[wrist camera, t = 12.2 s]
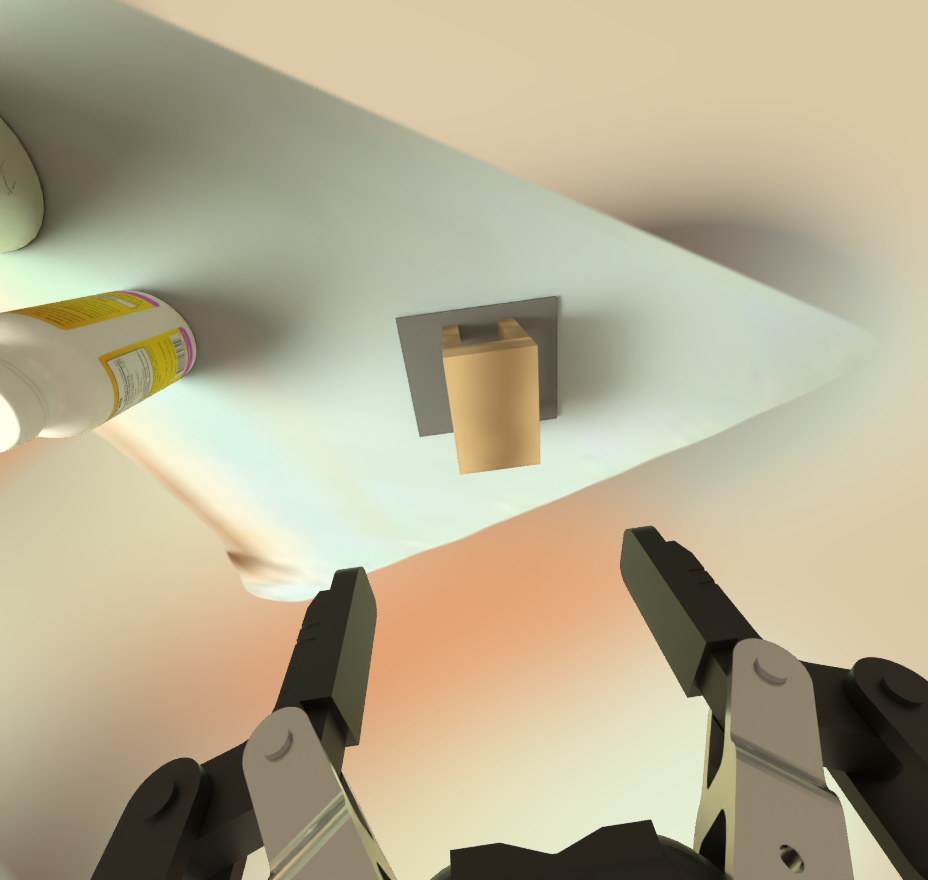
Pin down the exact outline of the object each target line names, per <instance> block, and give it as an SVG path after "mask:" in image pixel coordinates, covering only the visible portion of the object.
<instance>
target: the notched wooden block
mask: <svg viewBox="0 0 928 880" xmlns="http://www.w3.org/2000/svg"><path fill="white" fill-rule="evenodd" d="M497 326H498V336H499V338H500V340H501V341H496V342H488V343H481V344H474V345H466V346H462V345H461V340H460V335H459V330H458V325H455V326H448V327H442V353H443V364H444V370H445V377H446V384H447V390H448V397H449V404H450V410H451V417H452V423H453V430H454V437H455V443H456V450H457V457H458V463H459V470H460V475H461V474H469V473H476V472H484V471H491V470H499V469H506V468H514V467H521V466H529V465H536V464H540V426H539V382H538V345H537V344H536V343H535V342H534V341H533V340H532V339H531V337H530V336H529V335H528V334H527V333H526V332H525V331H524V330H523V328H522V327H521V326H520V325H519V324H518V323H517V322H516V321H515V319H514V318H507V319H499V320H497Z"/></svg>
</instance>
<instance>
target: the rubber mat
mask: <svg viewBox="0 0 928 880" xmlns="http://www.w3.org/2000/svg"><path fill="white" fill-rule="evenodd" d="M507 318H514V319H515V321H516V322H517V323H518V324H519V325H520V326H521V327H522V328H523V330H524V331H525V332H526V333H527V334H528V335H529V336H530V337H531V339H532V340H533V341H534V342H535V343H536V344H537V345H538V382H539V421H541V420H548V419H556V418H557V297H556V296H553V297H546V298H539V299H532V300H524V301H517V302H510V303H502V304H495V305H488V306H481V307H473V308H466V309H459V310H451V311H444V312H437V313H430V314H422V315H415V316H408V317H400V318H396V323H397V328H398V333H399V338H400V343H401V347H402V352H403V357H404V362H405V367H406V372H407V377H408V382H409V387H410V392H411V396H412V401H413V406H414V411H415V416H416V421H417V426H418V431H419V436H420V437H422V436H430V435H437V434H445V433H452V432H454V430H453V423H452V417H451V410H450V404H449V397H448V390H447V384H446V377H445V370H444V364H443V353H442V327H448V326H455V325H458V330H459V335H460V340H461V345H462V346H466V345H474V344H481V343H488V342H496V341H501V340H500V338H499V336H498V326H497V320H499V319H507Z"/></svg>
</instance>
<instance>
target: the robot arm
mask: <svg viewBox="0 0 928 880" xmlns="http://www.w3.org/2000/svg"><path fill="white" fill-rule="evenodd" d="M43 214H44V203H43V193H42V189H41V186H40V182H39V179H38V175H37V173H36V171H35V169H34V166H33V164H32V162H31V160H30V158H29V156H28V154H27V152H26V151H25V149H24V148H23V146H22V145H21V143H20V142H19V140H18V139H17V137H16V135H15V134H14V133H13V132H12V131H11V129H10V128H9V127H8V126H7V125H6V123H5V122H4V121H3V120H2V119H1V118H0V253H2V252H10V251H15V250H17V249H19V248H22V247H24V246H26V245H27V244H28V243H29V242H30V241H32V240H33V239H34V238H35V237H36V235H37V233H38V231H39V229H40V227H41V225H42V220H43ZM620 569H621V574H622V577H623V581H624V583H625V585H626V587H627V589H628V591H629V592H630V594H631V596H632V598H633V600H634V602H635V603H636V605H637V607H638V609H639V611H640V612H641V614H642V616H643V618H644V620H645V621H646V623H647V625H648V627H649V629H650V631H651V632H652V634H653V636H654V638H655V639H656V641H657V643H658V645H659V647H660V649H661V650H662V652H663V654H664V656H665V658H666V660H667V661H668V663H669V665H670V667H671V669H672V671H673V672H674V674H675V676H676V678H677V680H678V681H679V683H680V685H681V687H682V689H683V691H684V692H685V694H686V696H687V698H689V697H695V696H702V695H703V697H704V698H705V700H706V702H707V703H708V705H709V707H710V709H709V713H708V724H707V737H706V750H705V763H704V774H703V786H702V787H703V788H702V795H701V801H700V805H699V809H698V815H697V820H696V826H695V834H694V845H693V849H691V848H689V847H687V846H685V845H683V844H681V843H680V842H678V841H675V840H673V839H670V838H667V837H665V836H661V835H657V834H656V831H655V828H654V826H653V823H652V821H651V820H645V821H639V822H632V823H625V824H620V825H612V826H606V827H601V828H600V829H598V830H596V831H595V832H593V833H591V834H590V835H588V836H586V837H584V838H583V839H581V840H579V841H578V842H576V843H574V844H573V845H571V846H570V847H568V848H566V849H564V850H563V851H561V852H559V853H557V854H548V853H543V852H539V851H535V850H530V849H525V848H521V847H517V846H512V845H508V844H503V843H495V844H488V845H481V846H476V847H468V848H462V849H456V850H450V859H451V860H450V862H451V865H450V866H448V867H446V868H444V869H443V870H441V871H440V872H439V873H438V874H436V875H435V876H434V877H433V878H432V879H431V880H854V876H853V870H852V863H851V856H850V850H849V843H848V836H847V829H846V823H845V817H844V812H843V808H842V805H841V802H840V800H839V798H838V796H837V795H836V794H835V793H834V792H833V791H831V790H829V789H828V787H827V785H826V782H825V777H824V770H823V767H826V768H827V769H828V771H829V772H830V774H831V775H832V777H833V778H834V779H835V781H836V782H837V784H838V785H839V787H840V788H841V790H842V791H843V793H844V794H845V796H846V797H847V799H848V800H849V801H850V803H851V804H852V806H853V807H854V809H855V810H856V811H857V813H858V814H859V816H860V817H861V819H862V820H863V822H864V823H865V825H866V826H867V828H868V829H869V831H870V832H871V834H872V835H873V836H874V838H875V839H876V841H877V842H878V844H879V845H880V847H881V848H882V849H883V851H884V853H885V854H886V855H887V856H888V858H889V860H890V861H891V863H892V864H893V865H894V867H895V868H896V870H897V871H898V873H899V874H900V876H901V877H902V879H903V880H928V681H927V680H926V679H924V678H923V677H921V676H920V675H918V674H917V673H915V672H914V671H912V670H910V669H908V668H906V667H904V666H902V665H900V664H898V663H895V662H892V661H889V660H886V659H882V658H875V657H867V658H863V659H860V660H858V661H857V662H856V663H855V665H854V666H853V667H852V669H851V670H849V669H843V668H838V667H831V666H826V665H820V664H814V663H808V662H804V661H800V660H798V659H797V658H796V657H795V656H793V655H792V654H791V653H790V652H788V651H787V650H785V649H784V648H782V647H780V646H778V645H776V644H774V643H772V642H768V641H766V640H763V639H762V638H761V637H760V636H759V635H758V633H757V632H756V631H755V630H754V629H753V628H752V626H751V625H750V624H749V623H748V622H747V620H746V619H745V618H744V616H743V615H742V614H741V613H740V612H739V610H738V609H737V608H736V607H735V605H734V604H733V603H732V602H731V600H730V599H729V598H728V597H727V596H726V594H725V593H724V592H723V591H722V589H721V588H720V587H719V586H718V585H717V584H715V582H714V580H713V578H712V577H711V576H710V575H709V573H708V572H707V571H705V570H704V567H703V566H702V565H701V563H700V562H699V561H698V560H697V559H696V557H695V556H694V555H693V554H692V553H691V552H690V551H688V550H687V549H685V548H684V547H682V546H681V545H680V544H678V543H677V542H675V541H669V542H666V541H665V540H664V539H663V537H662V536H661V535H660V534H659V532H658V531H657V530H656V529H655V528H654V527H653V526H645V527H638V528H631V529H626V530H625V532H624V537H623V544H622V552H621V561H620ZM376 614H377V609H376V601H375V597H374V595H373V592H372V589H371V586H370V584H369V581H368V578H367V575H366V572H365V570H364V568H363V567H355V568H348V569H342V570H337V571H336V572H335V574H334V577H333V581H332V585H331V588H330V590H325V591H319V593H318V594H317V596H316V597H315V598H314V600H313V601H312V603H311V604H310V605H309V607H308V608H307V611H306V614H305V618H304V620H303V623H302V629H301V630H300V633H299V636H298V639H297V644H296V645H295V648H294V651H293V654H292V657H291V660H290V663H289V666H288V669H287V672H286V675H285V678H284V681H283V685H282V687H281V690H280V694H279V697H278V700H277V702H276V705H275V708H274V709H273V711H272V713H271V714H270V715H269V716H268V717H266V718H265V719H264V720H263V721H262V722H261V723H260V724H259V725H258V726H257V728H256V729H255V730H254V732H253V733H252V735H251V736H250V738H249V739H248V740H247V741H245V742H244V743H242V744H240V745H239V746H237V747H235V748H233V749H231V750H229V751H227V752H225V753H223V754H221V755H219V756H217V757H215V758H213V759H211V760H209V761H207V762H205V763H203V764H201V765H199V764H198V763H197V762H195V761H194V760H193V759H191V758H179V759H175V760H172V761H171V762H168V763H166V764H165V765H163V766H161V767H160V768H159V769H158V770H156V771H155V772H154V773H152V774H151V775H150V776H149V777H148V778H147V779H146V780H145V781H144V782H143V783H142V785H140V787H139V788H138V789H137V791H136V792H135V793H134V795H133V796H132V798H131V799H130V801H129V802H128V804H127V806H126V808H125V810H124V812H123V814H122V816H121V818H120V820H119V822H118V824H117V826H116V828H115V830H114V832H113V835H112V837H111V839H110V841H109V843H108V845H107V847H106V849H105V851H104V853H103V855H102V857H101V859H100V861H99V863H98V865H97V867H96V869H95V871H94V873H93V876H92V878H91V880H241V879H242V875H243V871H244V868H245V863H246V860H247V856H248V855H249V854H251V853H252V852H254V851H256V850H257V849H259V848H261V847H263V846H265V850H266V853H267V857H268V861H269V865H270V877H269V878H268V880H397V879H396V877H395V875H394V873H393V871H392V869H391V867H390V865H389V863H388V861H387V860H386V858H385V856H384V854H383V852H382V851H381V849H380V847H379V845H378V843H377V841H376V839H375V837H374V835H373V833H372V831H371V828H370V826H369V824H368V822H367V820H366V818H365V816H364V814H363V812H362V810H361V808H360V805H359V804H358V801H357V799H356V797H355V795H354V793H353V791H352V789H351V787H350V785H349V783H348V780H347V778H346V776H345V774H344V772H343V770H342V763H343V757H344V750H345V747H349V746H356V745H359V740H360V733H361V725H362V719H363V712H364V705H365V697H366V690H367V683H368V675H369V669H370V661H371V654H372V647H373V639H374V633H375V626H376V617H377V615H376Z"/></svg>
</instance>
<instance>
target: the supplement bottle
mask: <svg viewBox="0 0 928 880" xmlns="http://www.w3.org/2000/svg"><path fill="white" fill-rule="evenodd" d="M195 359H196V343H195V339H194V336H193V334H192V331H191V329H190V328H189V326H188V324H187V323H186V322H185V320H184V319H183V318H182V317H181V316H180V315H179V314H178V313H177V311H175V310H174V309H173V308H172V307H171V306H169V305H168V304H167V303H165V302H164V301H162V300H160V299H158V298H156V297H154V296H152V295H149V294H146V293H143V292H138V291H131V290H122V291H114V292H108V293H102V294H97V295H92V296H87V297H81V298H76V299H71V300H66V301H61V302H56V303H50V304H45V305H40V306H35V307H29V308H24V309H19V310H13V311H8V312H3V313H0V452H5V451H8V450H10V449H12V448H15V447H16V446H19V445H21V444H23V443H25V442H27V441H30V440H32V439H34V438H35V437H37V436H40V437H49V438H63V437H72V436H76V435H80V434H83V433H86V432H88V431H90V430H92V429H94V428H96V427H98V426H100V425H101V424H103V423H105V422H106V421H108V420H110V419H112V418H113V417H115V416H117V415H118V414H120V413H122V412H124V411H125V410H127V409H129V408H130V407H132V406H134V405H136V404H138V403H139V402H141V401H143V400H144V399H146V398H148V397H150V396H151V395H153V394H155V393H157V392H158V391H160V390H162V389H164V388H165V387H167V386H169V385H170V384H172V383H174V382H175V381H177V380H179V379H180V378H182V377H183V376H184V375H186V374H187V373H188V372H189V371H190V370H191V368H192V366H193V364H194V362H195Z"/></svg>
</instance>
